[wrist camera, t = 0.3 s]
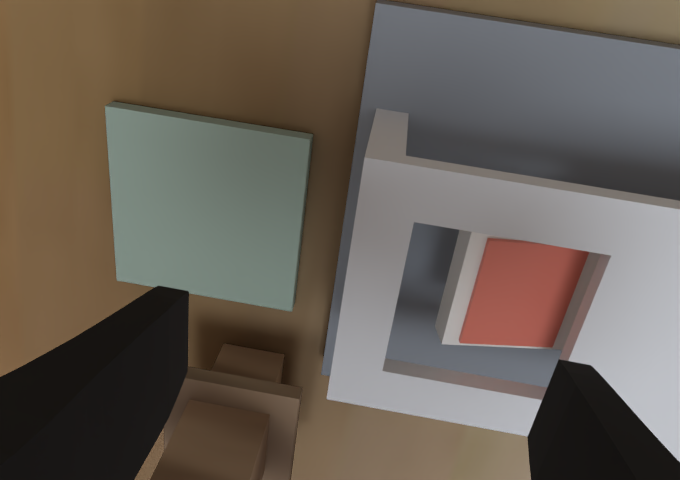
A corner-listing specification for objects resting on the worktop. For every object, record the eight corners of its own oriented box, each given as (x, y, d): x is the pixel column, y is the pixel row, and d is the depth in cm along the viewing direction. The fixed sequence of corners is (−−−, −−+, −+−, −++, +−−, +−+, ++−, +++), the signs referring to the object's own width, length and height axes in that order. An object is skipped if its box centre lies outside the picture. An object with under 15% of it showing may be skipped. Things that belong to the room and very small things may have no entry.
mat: (294, 302, 23) (291, 311, 23) (123, 272, 24) (116, 280, 23) (313, 134, 20) (310, 139, 19) (113, 101, 20) (104, 106, 20)
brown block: (303, 424, 26) (248, 658, 18) (195, 404, 27) (90, 625, 18) (315, 336, 24) (258, 559, 16) (196, 315, 24) (75, 523, 16)
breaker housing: (715, 429, 24) (789, 555, 19) (324, 358, 24) (301, 462, 20) (927, 83, 17) (1124, 144, 12) (378, -2, 18) (362, 25, 13)
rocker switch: (685, 342, 20) (706, 364, 19) (433, 329, 19) (441, 352, 18) (744, 230, 18) (770, 248, 17) (464, 208, 17) (475, 226, 16)
